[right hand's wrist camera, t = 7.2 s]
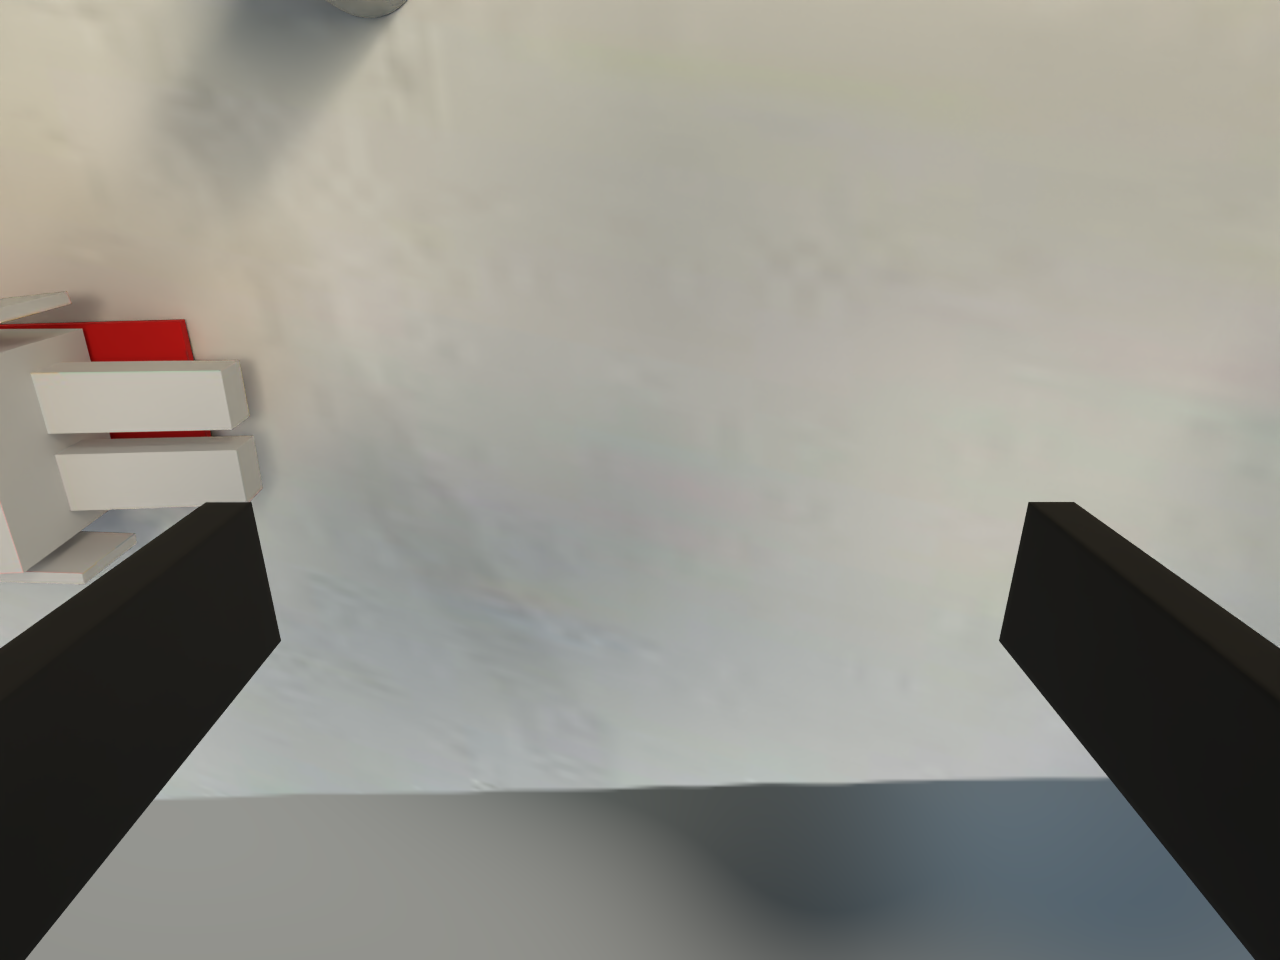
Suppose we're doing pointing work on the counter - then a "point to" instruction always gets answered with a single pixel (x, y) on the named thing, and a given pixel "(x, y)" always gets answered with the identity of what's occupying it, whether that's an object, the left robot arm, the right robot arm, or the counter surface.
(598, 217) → the counter surface
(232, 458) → the toy
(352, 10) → the jar
